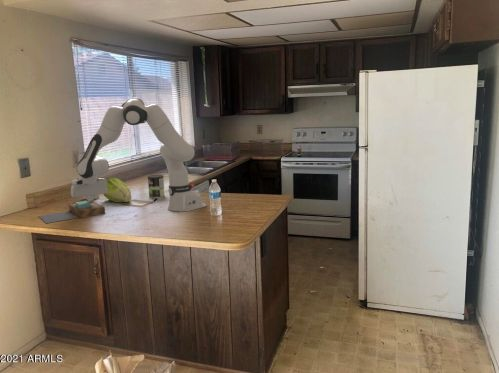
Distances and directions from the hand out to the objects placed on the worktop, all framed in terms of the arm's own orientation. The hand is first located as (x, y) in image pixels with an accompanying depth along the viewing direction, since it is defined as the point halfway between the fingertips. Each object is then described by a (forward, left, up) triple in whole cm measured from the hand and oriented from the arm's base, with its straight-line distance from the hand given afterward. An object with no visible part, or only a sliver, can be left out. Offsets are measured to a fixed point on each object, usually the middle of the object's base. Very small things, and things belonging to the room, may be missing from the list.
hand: (90, 203), depth 247 cm
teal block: (+4, 0, -1) cm, 5 cm away
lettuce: (-22, -16, -5) cm, 28 cm away
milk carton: (-11, -38, -5) cm, 40 cm away
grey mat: (+19, 0, -5) cm, 19 cm away
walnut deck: (+3, 0, -5) cm, 6 cm away
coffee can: (-46, -11, -5) cm, 48 cm away
